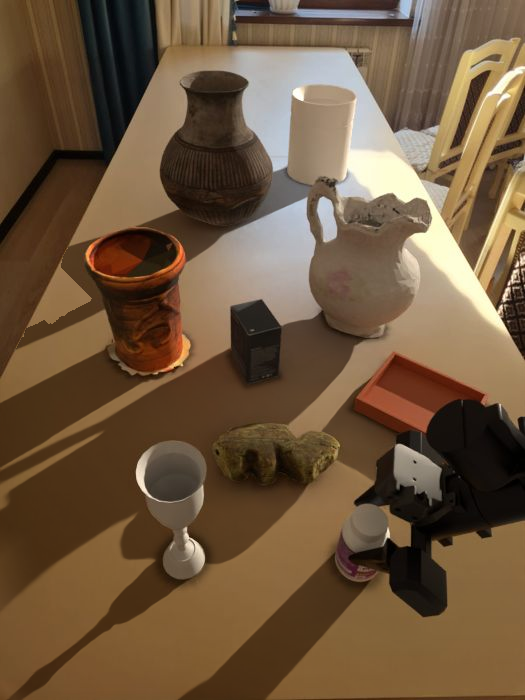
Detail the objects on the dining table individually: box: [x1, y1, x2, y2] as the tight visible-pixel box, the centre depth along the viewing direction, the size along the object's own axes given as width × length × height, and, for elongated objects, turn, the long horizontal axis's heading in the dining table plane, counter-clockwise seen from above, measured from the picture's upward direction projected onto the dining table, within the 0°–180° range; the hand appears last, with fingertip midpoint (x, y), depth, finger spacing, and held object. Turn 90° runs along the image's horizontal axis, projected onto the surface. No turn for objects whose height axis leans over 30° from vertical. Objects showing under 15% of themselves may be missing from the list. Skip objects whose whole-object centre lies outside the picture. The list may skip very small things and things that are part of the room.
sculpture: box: [211, 422, 341, 486], centre depth 74 cm, size 18×5×10 cm
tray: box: [353, 350, 490, 436], centre depth 83 cm, size 16×13×3 cm
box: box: [229, 298, 283, 385], centre depth 86 cm, size 8×6×11 cm
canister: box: [286, 83, 358, 186], centre depth 139 cm, size 16×16×20 cm
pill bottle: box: [334, 504, 391, 583], centre depth 62 cm, size 5×5×10 cm
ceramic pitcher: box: [306, 176, 433, 339], centre depth 92 cm, size 22×20×25 cm
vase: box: [159, 70, 274, 227], centre depth 116 cm, size 25×25×30 cm
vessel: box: [83, 226, 192, 377], centre depth 85 cm, size 14×14×20 cm
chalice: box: [135, 439, 208, 580], centre depth 59 cm, size 7×7×18 cm
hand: (353, 531), depth 61 cm, fingers open, 7 cm apart
